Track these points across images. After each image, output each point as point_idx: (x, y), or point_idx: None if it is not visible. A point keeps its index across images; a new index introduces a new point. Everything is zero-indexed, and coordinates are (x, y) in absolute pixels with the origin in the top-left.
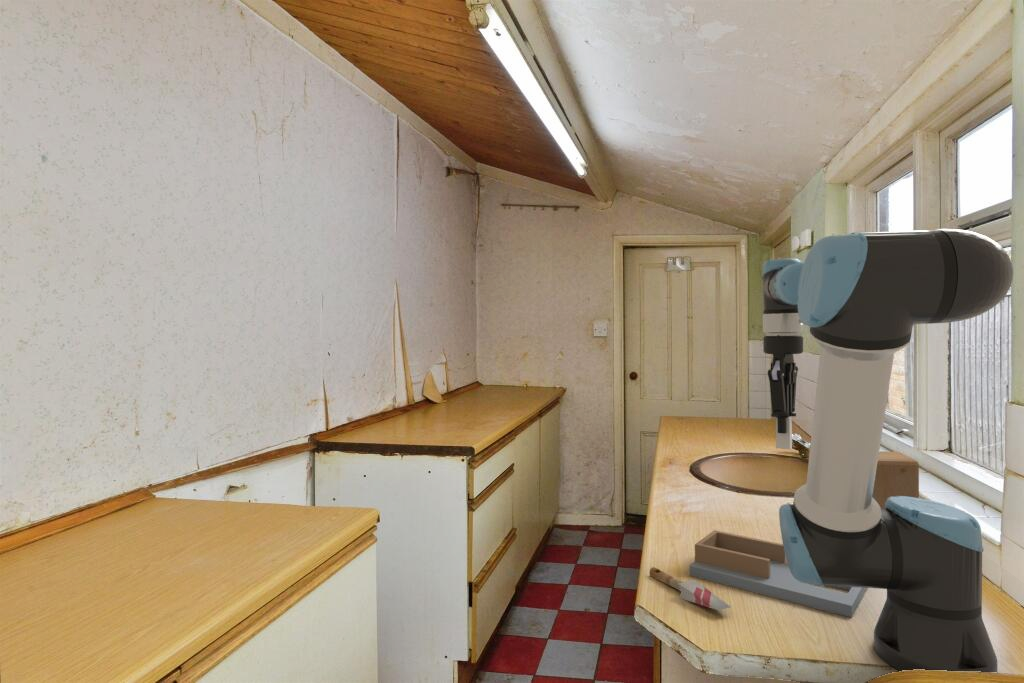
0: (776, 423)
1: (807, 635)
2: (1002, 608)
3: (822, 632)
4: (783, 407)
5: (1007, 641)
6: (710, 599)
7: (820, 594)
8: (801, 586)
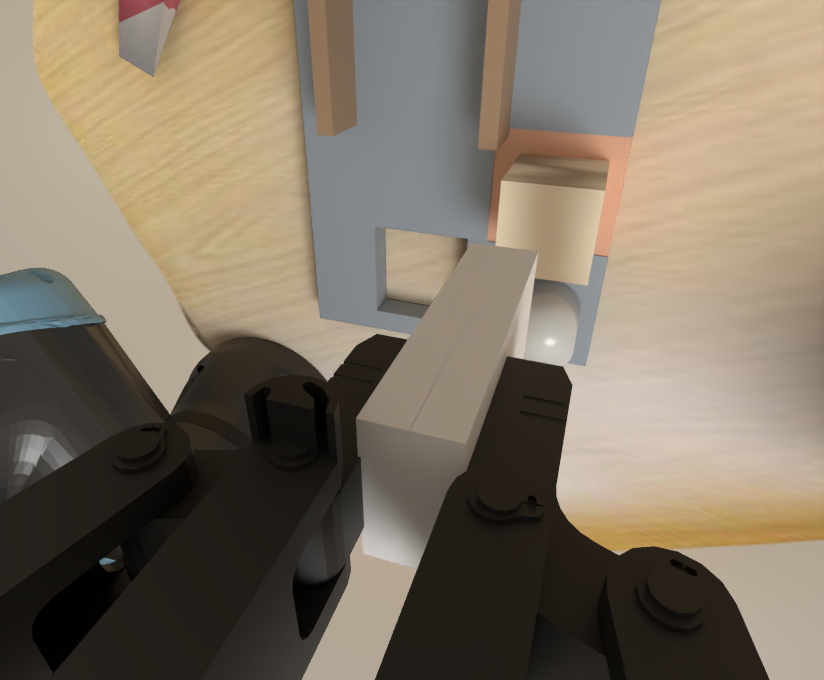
0: (389, 370)
1: (207, 237)
2: None
3: (237, 260)
4: (58, 625)
5: None
6: (136, 15)
7: (332, 258)
8: (349, 212)
